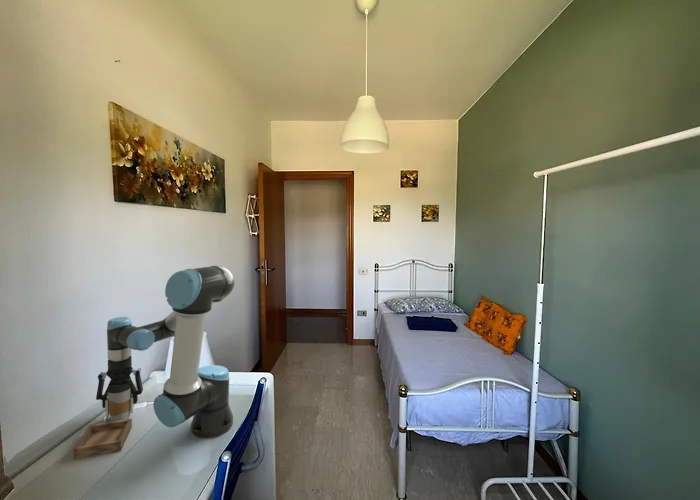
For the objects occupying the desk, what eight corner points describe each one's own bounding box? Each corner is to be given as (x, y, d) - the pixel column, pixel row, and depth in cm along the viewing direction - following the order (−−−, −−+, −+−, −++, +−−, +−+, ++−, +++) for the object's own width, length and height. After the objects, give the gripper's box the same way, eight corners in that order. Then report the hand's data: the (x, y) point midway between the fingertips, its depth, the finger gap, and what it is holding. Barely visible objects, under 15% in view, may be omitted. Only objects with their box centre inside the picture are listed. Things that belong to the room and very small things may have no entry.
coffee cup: (138, 414, 128) (138, 379, 127) (118, 427, 120) (118, 389, 119) (122, 410, 130) (121, 375, 129) (101, 422, 122) (101, 385, 121)
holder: (131, 427, 120) (131, 418, 120) (121, 450, 108) (120, 441, 108) (90, 434, 115) (89, 425, 115) (73, 459, 103) (73, 449, 103)
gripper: (152, 350, 130) (152, 403, 132) (91, 356, 123) (92, 411, 125) (147, 358, 123) (148, 414, 125) (83, 364, 116) (84, 423, 118)
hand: (120, 412), depth 125 cm, fingers closed on coffee cup, 7 cm apart
